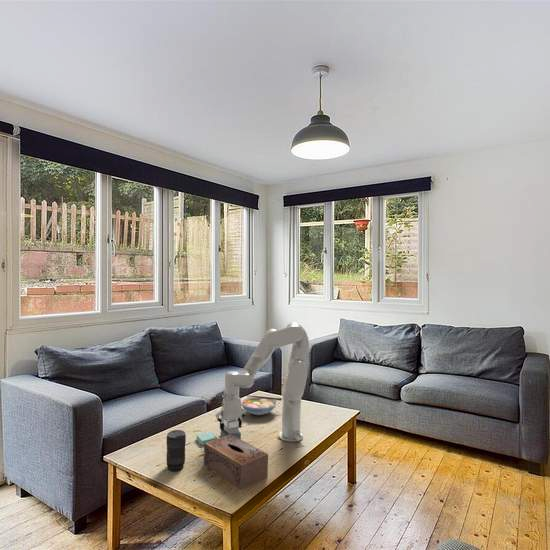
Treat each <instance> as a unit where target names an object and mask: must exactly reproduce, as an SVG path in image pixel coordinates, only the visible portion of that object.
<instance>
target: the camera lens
mask: <svg viewBox="0 0 550 550" xmlns="http://www.w3.org/2000/svg"><path fill="white" fill-rule="evenodd" d="M186 438H187V435H186V431H184V430H183V429H182V430H181V429H175V430H171V431H168V433H167V435H166V465H167V469H168V471H171V472H178V471H181V470H183V468H184V465H185V463H186V441H187V440H186Z"/></svg>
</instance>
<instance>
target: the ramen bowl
mask: <svg viewBox="0 0 550 550" xmlns="http://www.w3.org/2000/svg"><path fill="white" fill-rule="evenodd" d="M244 396H245V397H244ZM240 399H241V406H242V408H243V409H245V410H247V412H246V413H249V414H252V415H254V416H263V415H266V414H269V413H270V412H272V411H273V410H274V409H275V408H276V406H277V404H278V401H283V397H281V398H280V397H271V396H268V395H259V394H257V395H247V394H243V398H240Z"/></svg>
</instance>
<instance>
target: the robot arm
mask: <svg viewBox="0 0 550 550" xmlns="http://www.w3.org/2000/svg"><path fill="white" fill-rule="evenodd" d="M309 341H310V340H309V336H308V334H307V331H306V330H305V328H304V327H303V326H302V325H301V324H300V323H298V322H293V321H292V322H289V323H287V325H286V327H284V328H281V329H276V328H269V329H268V330H267V331H266V332H265V333H264V335H263V336H262V338H261V340H260V342H259V343H258V345H257V347H256V348H255V350H254V351H253V352H252V354H251V356H250V357H249V359H248V360H247V361H246V364H245V365H244V367H243V368H242V370H241V372H239V371H236V370H235V371H233V370H232V371H229V370H228V371H227V372H226V373H224V374H225V375H224V392H223V394H222V395H221V397H222V398H223V399H222V403H221V409H220V410H219V412H216V414H215V415H214V416H215V418H216V420H217V421H218V422H219V429H220V431H221V430H222V431H224V423H223V422H224V421H225V420H229V419H235V418H236V419H237V420H238V421H239V428H238V429H241V428H242V424H243V419H244V417H245V416H246V414H247V413H248V412H247V410H245V409H244V408H243V407H242V405H241V399H242V398H241V397H240V388H241V389H250V388H251V387H253V385H254V384H255V383H254V382H255V377H256V375H257V373H258V372H259V370H260V369H261V367H262V366H263V365H264V364H266V363H267V362H268V361H269V359H270V358H271V356H272V354H273V353H274V351H275V349H277V348H281V347H284V346H285V347H286V346H287V345H291V344H292V347H291V352H290V356H289V360H288V364H287V369H288V374H287V377H286V378H285V379H284V380H283V383H282V413H281V414H282V417H281V419H282V420H281V421H282V423H281V424H282V425H281V431H280V432H279V433H278V438H279V439H280V440H282V441H284V442H290V443H291V442H292V443H295V442H299V441H302V440H303V439H304V438H303V437H304V435H303V433H302V431H301V413H302V412H301V411H302V410H301V408H302V397H303V395H304V392H305V388H306V383H307V379H308V365H307V358H308V354H309V353H308V351H309V345H310V342H309ZM220 416H221V417H220Z"/></svg>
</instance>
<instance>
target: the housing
mask: <svg viewBox="0 0 550 550" xmlns="http://www.w3.org/2000/svg"><path fill="white" fill-rule="evenodd" d="M223 423H224V431H225V432H226V433H227V434H228V435H230V434H231V435H232V434H237V433H238V431H239V429H240V428H239V421H238V418H235V419H229V420H225V421H224V422H223Z"/></svg>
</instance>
